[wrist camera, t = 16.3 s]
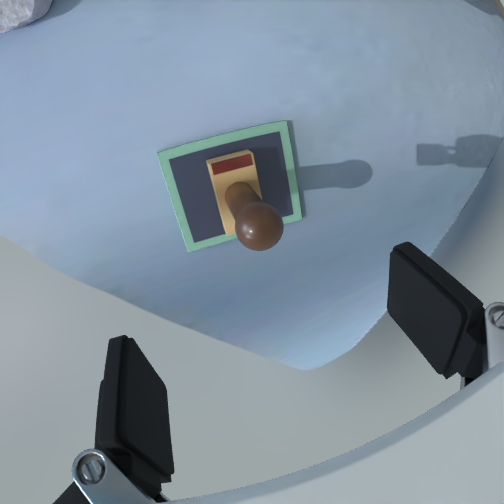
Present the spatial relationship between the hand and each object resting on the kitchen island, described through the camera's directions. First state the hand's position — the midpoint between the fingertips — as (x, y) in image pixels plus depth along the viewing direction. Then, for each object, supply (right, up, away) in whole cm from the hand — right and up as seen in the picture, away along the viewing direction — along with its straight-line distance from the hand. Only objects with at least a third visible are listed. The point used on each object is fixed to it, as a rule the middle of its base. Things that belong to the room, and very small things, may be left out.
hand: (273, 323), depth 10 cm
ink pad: (-3, +10, +24) cm, 26 cm away
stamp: (-3, +9, +23) cm, 25 cm away
